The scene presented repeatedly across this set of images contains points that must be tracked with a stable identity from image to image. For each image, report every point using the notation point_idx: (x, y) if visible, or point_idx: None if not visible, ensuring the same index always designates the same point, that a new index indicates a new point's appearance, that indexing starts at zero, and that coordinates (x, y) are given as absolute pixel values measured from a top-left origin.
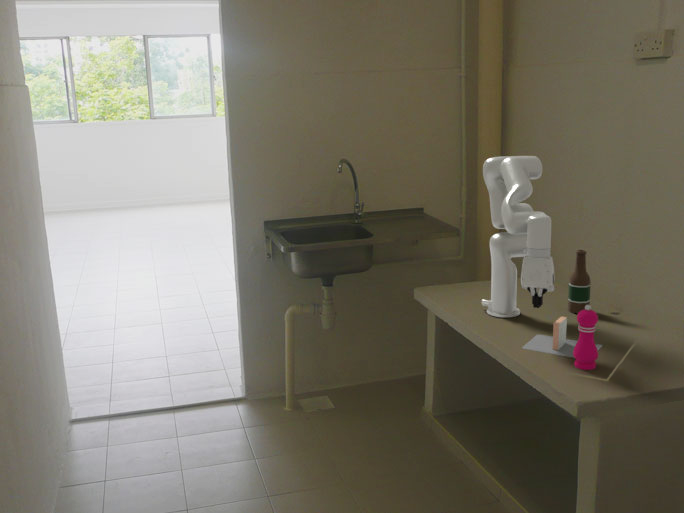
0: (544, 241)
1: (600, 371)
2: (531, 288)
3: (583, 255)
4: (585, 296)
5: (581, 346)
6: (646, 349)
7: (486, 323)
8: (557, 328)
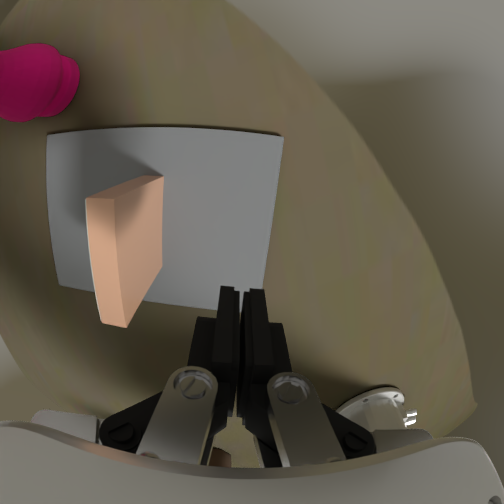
0: None
1: None
2: (323, 451)
3: None
4: None
5: (16, 47)
6: (8, 296)
7: (411, 342)
8: (106, 191)
